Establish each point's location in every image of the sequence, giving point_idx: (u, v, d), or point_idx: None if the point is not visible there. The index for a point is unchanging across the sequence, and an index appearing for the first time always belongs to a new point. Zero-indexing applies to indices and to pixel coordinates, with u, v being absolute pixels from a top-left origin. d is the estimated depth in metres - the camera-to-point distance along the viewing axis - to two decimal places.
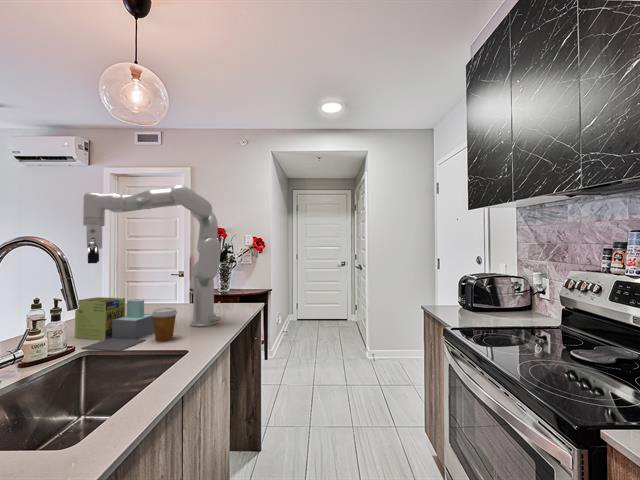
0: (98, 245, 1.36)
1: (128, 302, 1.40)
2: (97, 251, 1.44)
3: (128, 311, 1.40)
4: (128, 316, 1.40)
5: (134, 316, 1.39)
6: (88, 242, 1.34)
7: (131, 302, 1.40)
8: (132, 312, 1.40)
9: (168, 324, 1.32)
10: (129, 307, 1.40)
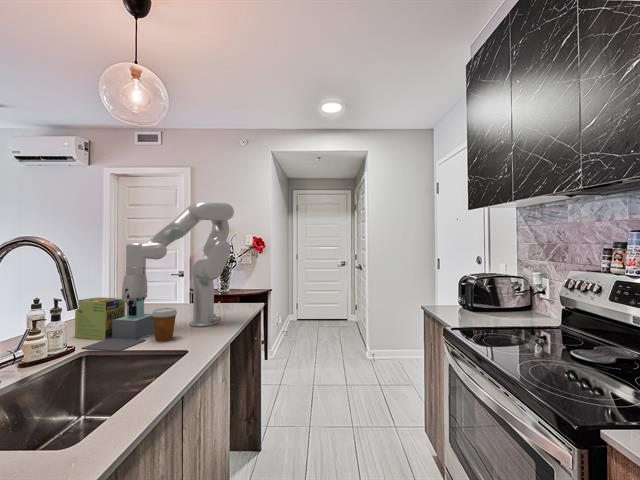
0: None
1: None
2: None
3: (128, 311, 1.40)
4: (128, 316, 1.40)
5: (134, 316, 1.39)
6: None
7: None
8: None
9: (168, 324, 1.32)
10: None
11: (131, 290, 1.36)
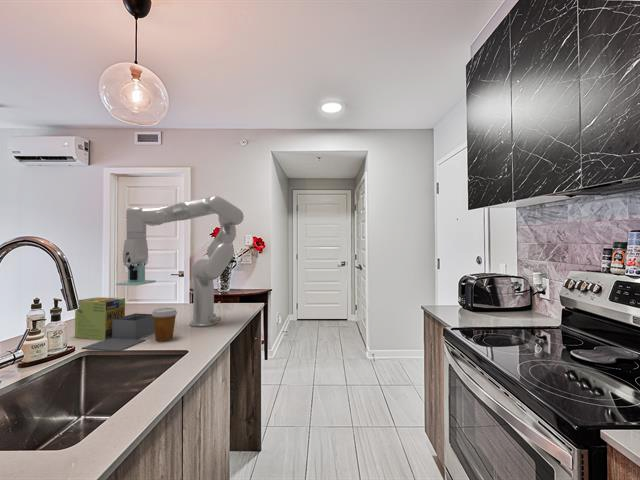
0: None
1: None
2: None
3: (129, 276, 1.40)
4: (129, 281, 1.40)
5: (135, 280, 1.40)
6: None
7: None
8: None
9: (168, 324, 1.32)
10: None
11: (132, 254, 1.36)
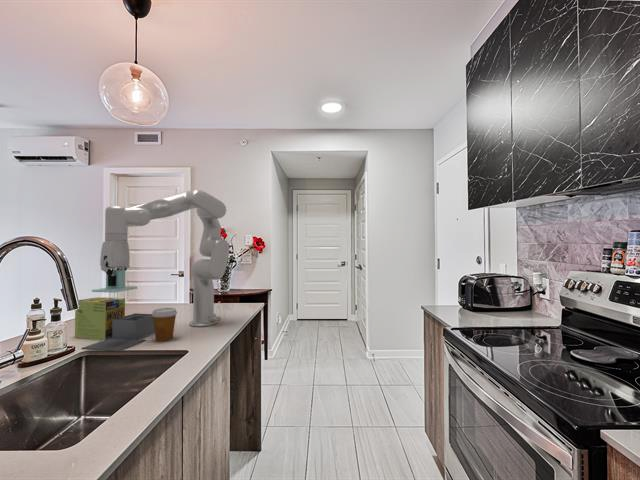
0: None
1: None
2: None
3: (107, 281, 1.27)
4: (107, 287, 1.27)
5: (114, 287, 1.26)
6: None
7: None
8: None
9: (168, 324, 1.32)
10: None
11: (110, 257, 1.23)
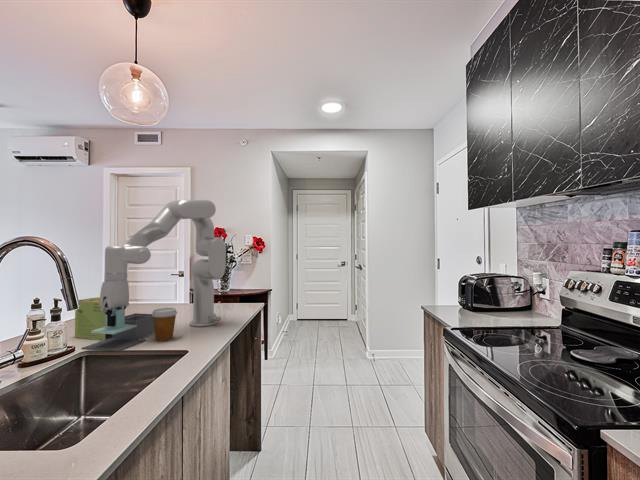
0: None
1: None
2: None
3: None
4: (107, 327, 1.27)
5: (113, 327, 1.26)
6: None
7: None
8: None
9: (168, 324, 1.32)
10: None
11: (110, 298, 1.23)
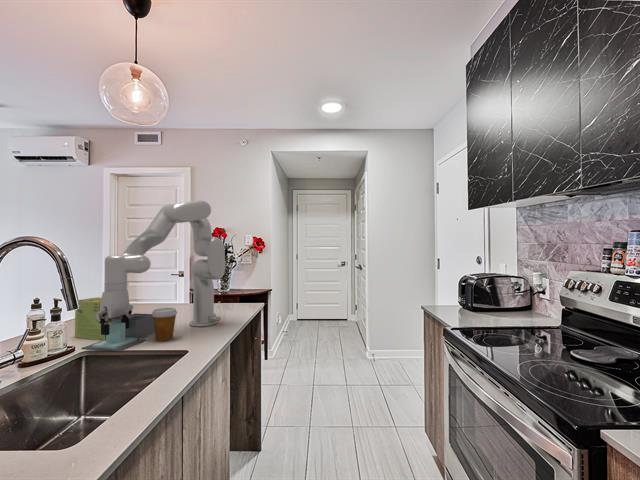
0: None
1: None
2: None
3: (107, 335, 1.27)
4: (107, 341, 1.27)
5: (114, 341, 1.26)
6: None
7: (111, 325, 1.27)
8: (112, 336, 1.26)
9: (168, 324, 1.32)
10: None
11: (110, 308, 1.23)
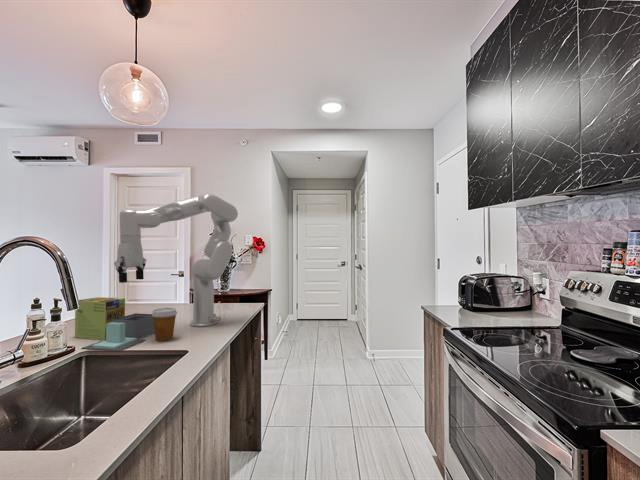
0: None
1: (107, 325, 1.27)
2: None
3: (107, 335, 1.27)
4: (107, 341, 1.27)
5: (114, 341, 1.26)
6: None
7: (111, 325, 1.27)
8: (112, 336, 1.26)
9: (168, 324, 1.32)
10: (108, 331, 1.27)
11: (127, 258, 1.32)
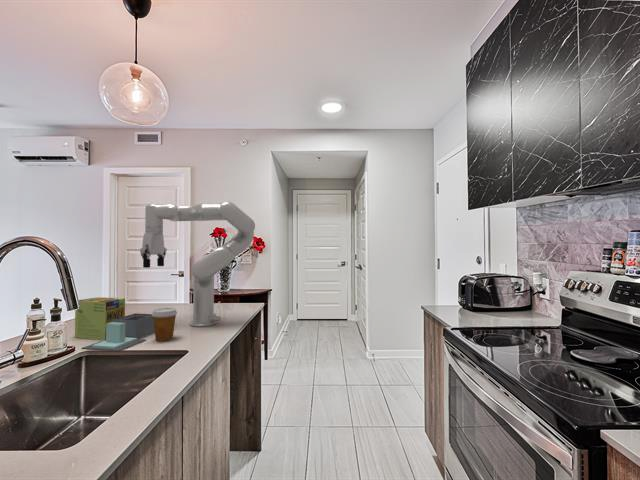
0: None
1: (107, 325, 1.27)
2: None
3: (107, 335, 1.27)
4: (107, 341, 1.27)
5: (114, 341, 1.26)
6: None
7: (111, 325, 1.27)
8: (112, 336, 1.26)
9: (168, 324, 1.32)
10: (108, 331, 1.27)
11: (150, 246, 1.50)
